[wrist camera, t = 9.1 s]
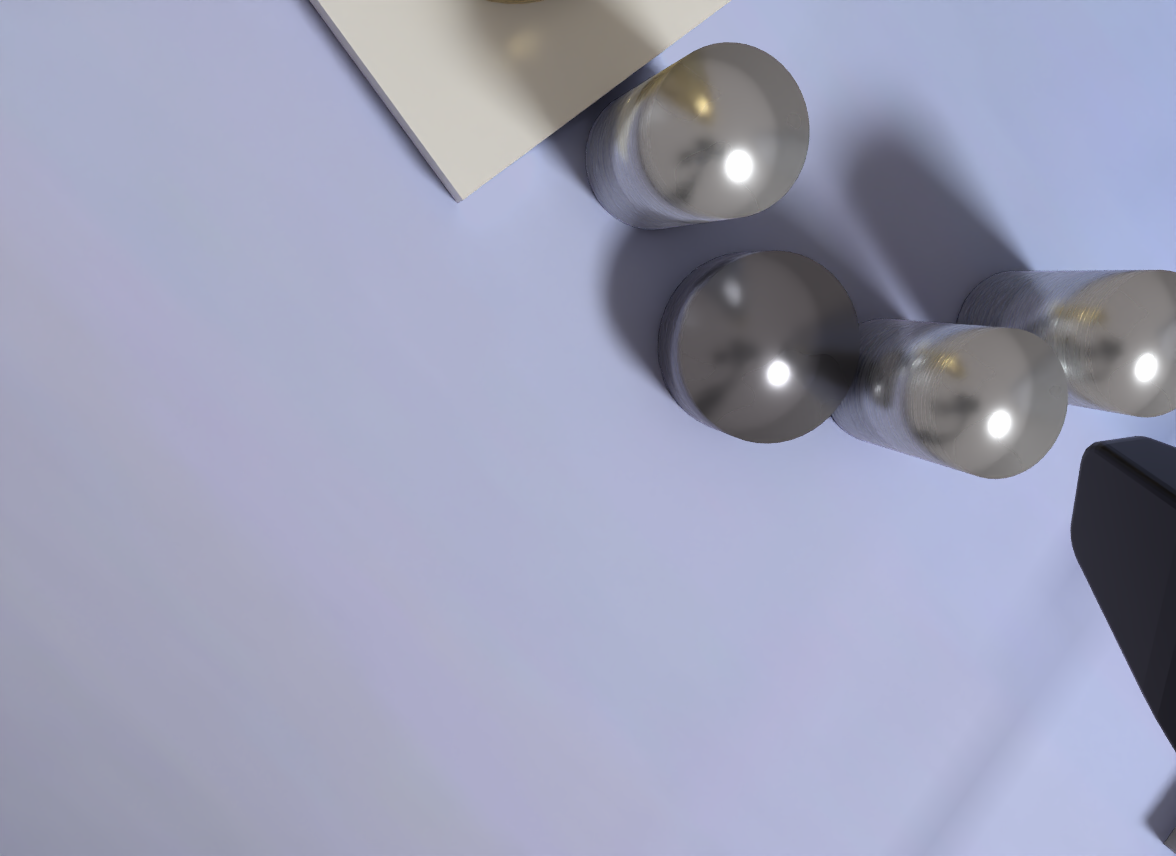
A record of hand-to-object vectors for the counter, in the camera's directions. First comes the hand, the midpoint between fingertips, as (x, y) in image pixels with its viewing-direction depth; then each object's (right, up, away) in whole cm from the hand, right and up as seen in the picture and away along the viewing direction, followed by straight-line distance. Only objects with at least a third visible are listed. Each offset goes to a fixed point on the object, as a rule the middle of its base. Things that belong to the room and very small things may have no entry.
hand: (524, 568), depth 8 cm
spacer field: (+5, +5, +12) cm, 14 cm away
